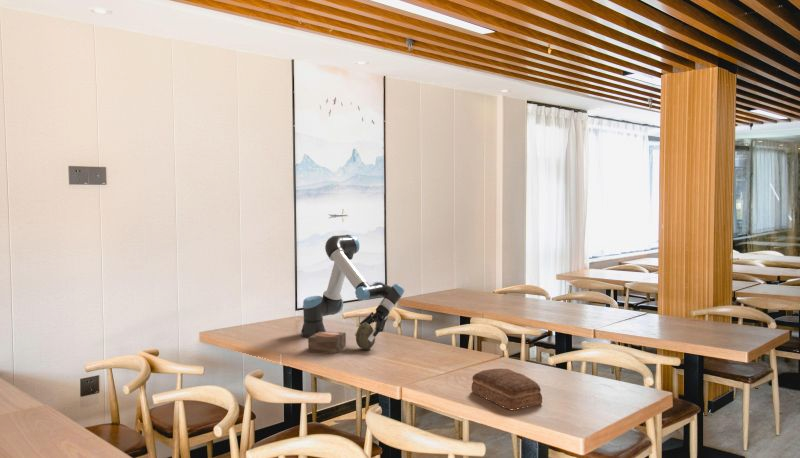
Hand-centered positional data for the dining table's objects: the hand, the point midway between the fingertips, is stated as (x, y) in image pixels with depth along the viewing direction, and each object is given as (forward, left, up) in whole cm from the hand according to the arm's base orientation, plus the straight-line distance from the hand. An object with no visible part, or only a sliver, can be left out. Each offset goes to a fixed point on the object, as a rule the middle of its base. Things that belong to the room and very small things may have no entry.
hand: (362, 338), depth 351 cm
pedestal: (+2, -20, -6) cm, 21 cm away
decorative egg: (-2, +1, -7) cm, 7 cm away
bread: (+70, +84, -7) cm, 109 cm away
